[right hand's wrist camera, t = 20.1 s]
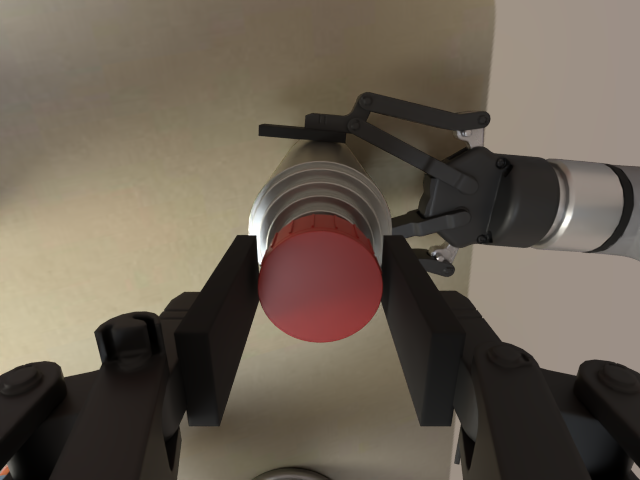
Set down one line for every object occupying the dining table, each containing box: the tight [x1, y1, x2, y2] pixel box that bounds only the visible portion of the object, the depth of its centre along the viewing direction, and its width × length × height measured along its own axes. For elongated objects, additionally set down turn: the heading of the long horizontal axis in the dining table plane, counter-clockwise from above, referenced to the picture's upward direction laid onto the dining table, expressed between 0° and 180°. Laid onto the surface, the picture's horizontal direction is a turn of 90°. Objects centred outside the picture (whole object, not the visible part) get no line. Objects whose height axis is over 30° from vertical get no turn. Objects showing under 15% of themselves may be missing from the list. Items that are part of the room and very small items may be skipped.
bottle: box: [248, 139, 392, 267], centre depth 24 cm, size 7×7×24 cm
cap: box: [258, 214, 383, 342], centre depth 14 cm, size 4×4×2 cm
